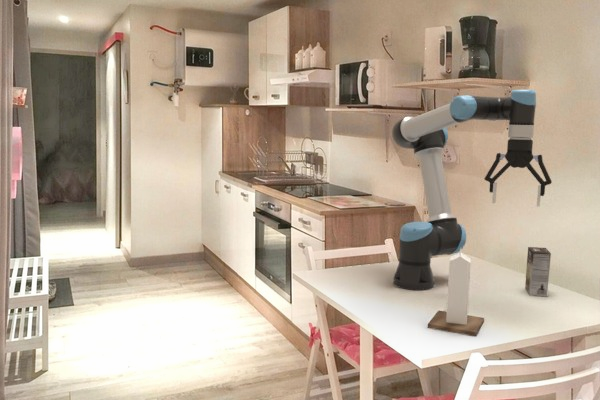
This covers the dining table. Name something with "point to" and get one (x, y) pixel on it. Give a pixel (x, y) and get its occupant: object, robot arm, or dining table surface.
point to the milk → (458, 289)
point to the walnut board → (469, 329)
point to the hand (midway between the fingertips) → (515, 204)
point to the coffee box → (537, 271)
